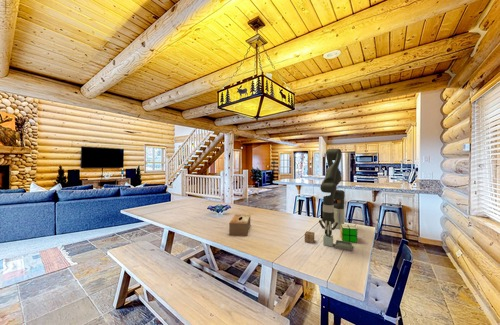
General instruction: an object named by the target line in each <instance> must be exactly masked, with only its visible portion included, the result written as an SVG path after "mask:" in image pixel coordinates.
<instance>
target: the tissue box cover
mask: <svg viewBox="0 0 500 325" xmlns="http://www.w3.org/2000/svg"><path fill="white" fill-rule="evenodd" d="M228 225H229V227H228V228H229V229H228V230H229V231H228V232H229V233H228V234H229V236H245V237H246V236H248V234H249V230H250V229H251V214H238V213H235V214H234V215H233V217H232V218H231V220H230V221H229V224H228Z"/></svg>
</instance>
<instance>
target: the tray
mask: <svg viewBox="0 0 500 325" xmlns="http://www.w3.org/2000/svg"><path fill="white" fill-rule="evenodd" d="M352 243H353V242H346V241H342V240H341V239H340V240H338V239H335V246H334V247H335V248H334V249H338V250H343V251H349V252H352V251H353V246H352Z"/></svg>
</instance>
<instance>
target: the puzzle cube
mask: <svg viewBox="0 0 500 325" xmlns="http://www.w3.org/2000/svg"><path fill="white" fill-rule="evenodd" d="M339 230H340V232H339V233H340V238H341V239H340V240H341V241H346V242H352V243H356V244H357V243H358V228H357V227H356V225H354V224H345V223H344V224H341V227H340V229H339Z"/></svg>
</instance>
